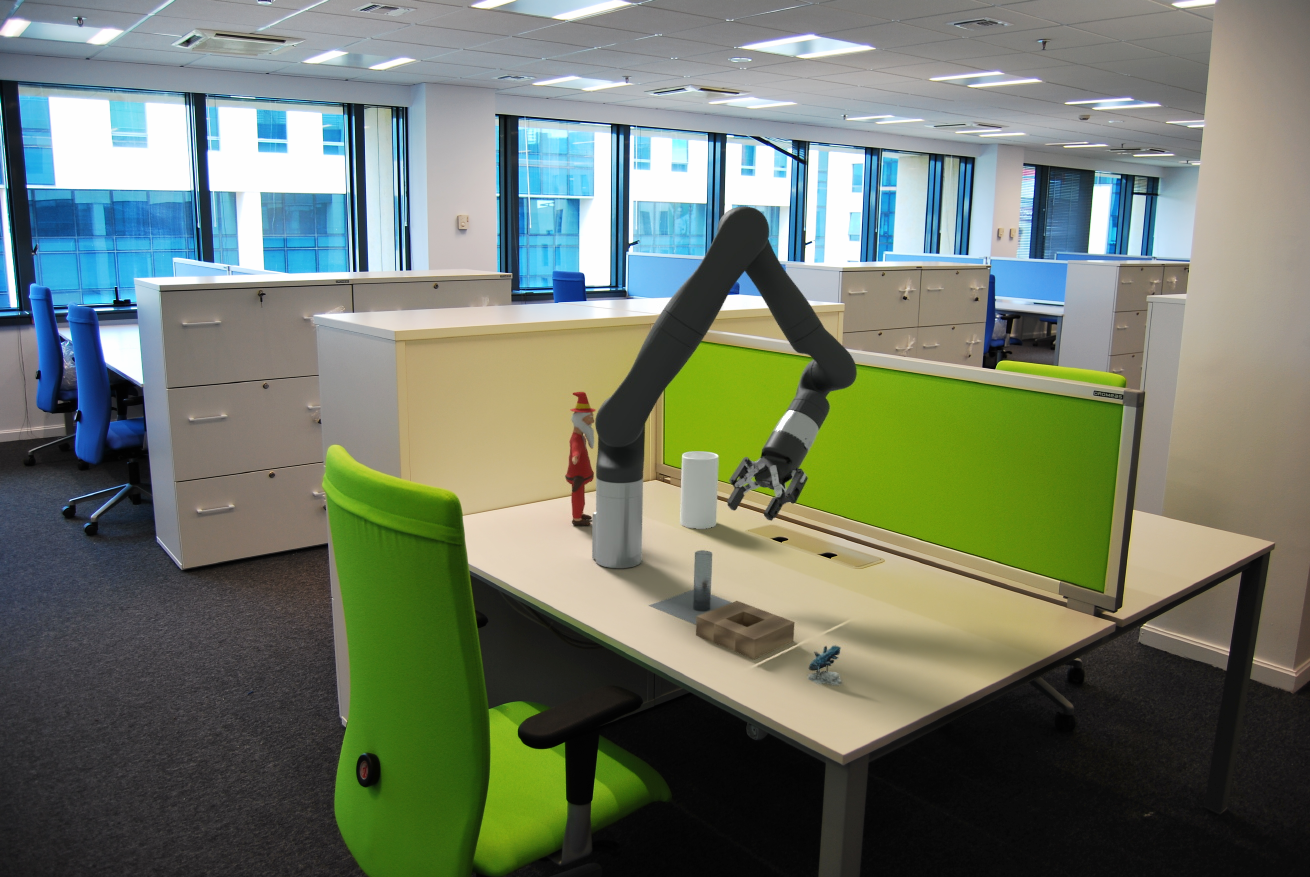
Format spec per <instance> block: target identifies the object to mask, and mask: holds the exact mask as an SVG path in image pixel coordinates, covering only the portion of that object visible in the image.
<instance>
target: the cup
mask: <svg viewBox="0 0 1310 877" xmlns="http://www.w3.org/2000/svg"><path fill="white" fill-rule="evenodd" d="M681 454H682V456H681V477H680V479H681V482H680V483H681V484H680V510H679V512H680V514H679V515H680V516H679V524H680V525H681V526H682V527H684V526H685V528H688V529H693V528H696V529H695V530H706V528H707V529H711V527H712V528H713V527H716V526H717V515H718V514H717V513H718V512H717V510H718V509H717V508H718V488H719V487H718V486H719V483H718V481H719V455H718V454H717V453H715V452H710V451H701V450H700V451H699V450H698V451H695V450H693V451H687V452H684V453H681Z"/></svg>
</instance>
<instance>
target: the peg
mask: <svg viewBox="0 0 1310 877" xmlns="http://www.w3.org/2000/svg"><path fill="white" fill-rule="evenodd" d="M693 567H694V570H693V573H694V574H693V589H694V595H693V609H694V610H696V611H708V610H710V604H711V595H712V574H713V572H712V571H713V568H712V567H713V552H712V551H710V550H705V549H704V550H696V551H695V552H694V566H693Z"/></svg>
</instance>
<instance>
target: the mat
mask: <svg viewBox="0 0 1310 877" xmlns="http://www.w3.org/2000/svg"><path fill="white" fill-rule="evenodd" d="M693 595H694V588H693V589H691V590H688V591H686V592H683V593H680V594H677V595H675V596H671V597H669V598H666V599H663V600H660V601H656V602H654V603H652V604H649V605H648V607H652V608H654V609H656V610H658V611H661V612H664V613H666V614H668V615H672V616H673V617H676V618H678V619H680V620H683V621H685V622H688V623H689V624H690V623H691V624H693V625H695V626H696V621H697V616H699V615H701V614H704V613H706V612H709V611H712V610H714V609H717V608H719V607H722V606H725V605H727V604H730V603H732V602H733V601H730V600H727V599H725V598H722V597H718V596H715V594H711V604H710V610H708V611H696V610H694V609H693Z"/></svg>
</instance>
